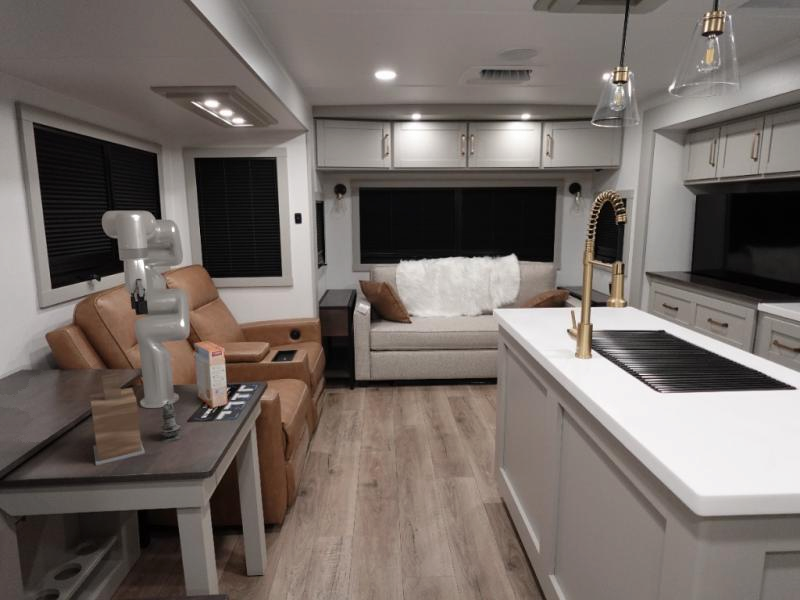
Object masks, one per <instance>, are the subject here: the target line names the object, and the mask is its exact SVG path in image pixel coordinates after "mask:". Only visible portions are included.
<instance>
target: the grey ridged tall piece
mask: <svg viewBox="0 0 800 600" xmlns="http://www.w3.org/2000/svg"><path fill="white" fill-rule="evenodd" d="M162 409H163V415H162V418H163V425H162V426H160V427H159V431H160V432H161V435H162V436H163V437H162V438H161V441H162V442H164V443H172V442H175V441H178V440H179V439H181V438H182V437H181V434H179V432H180V430H181V423H178V422H176V418H175V416H176V413H175V410H174V404H171V403H169V401H167V404H165V405H164V406H163V407H162Z"/></svg>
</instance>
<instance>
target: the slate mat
mask: <svg viewBox="0 0 800 600" xmlns="http://www.w3.org/2000/svg"><path fill="white" fill-rule="evenodd" d="M92 447H93V454H94V462H95V466H99V465H104V464H107V463H111V462H115V461H121V460H123V459H124V460H125V459H128V458H131V457H132V458H133V457H136V456H140V455H143V454H144V455H145V454H146V452H145V448H144V446H143V442H142V441H141V448H142V451H139V452H135V453H131V454H127V455H123V456H119V457H115V458H111V459H107V460H103V461H99V460H98V453H97V447H96V445H93V446H92Z"/></svg>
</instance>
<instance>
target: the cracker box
mask: <svg viewBox="0 0 800 600" xmlns="http://www.w3.org/2000/svg"><path fill="white" fill-rule="evenodd" d="M193 346H194V356H195V373H196V385H197V398H199V399H200V400H201V401H203V402H204V403H205V404H206V405H208V406H209V407H211V408H212V409H215V408H218V406H219V407H223V406H226V405H228V403H229V402H228V401H229V400H228V387H227V372H226V371H227V370H226V356H225V355H226V354H225V348H224V347H222V346H220V345H219V344H216V343H214V342H213V341H210V340H204V341H200V342H199V341H198V342H195V343H194V345H193Z"/></svg>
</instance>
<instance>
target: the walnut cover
mask: <svg viewBox="0 0 800 600" xmlns="http://www.w3.org/2000/svg"><path fill="white" fill-rule="evenodd" d="M101 382H102V390H103V391H102V392H99V393H93V394H90V395H89V399H90V406H91V416H92V423H93V430H94V431H93V432H94V438H95V446H96V447H97V453H98V460H99V461H103V460H107V459H111V458H115V457H119V456H123V455H127V454H131V453H135V452H139V451H142V448H141V442H142V440H141V430H140V419H139V414H138V413H139V411H138V403H137V396H136V395H135V393H134V389H133V387H127V388H121V381H120V376H119V373H118V372H117V373H111V374H104V375H101Z"/></svg>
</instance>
